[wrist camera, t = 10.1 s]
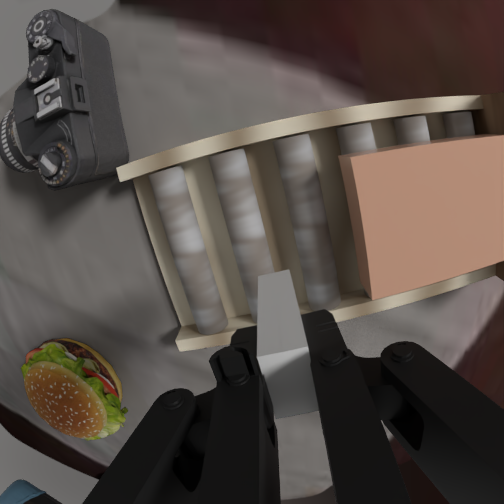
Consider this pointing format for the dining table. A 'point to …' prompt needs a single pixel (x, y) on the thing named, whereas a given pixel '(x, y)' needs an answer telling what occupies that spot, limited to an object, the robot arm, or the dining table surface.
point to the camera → (65, 106)
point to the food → (74, 389)
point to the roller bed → (283, 210)
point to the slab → (425, 210)
